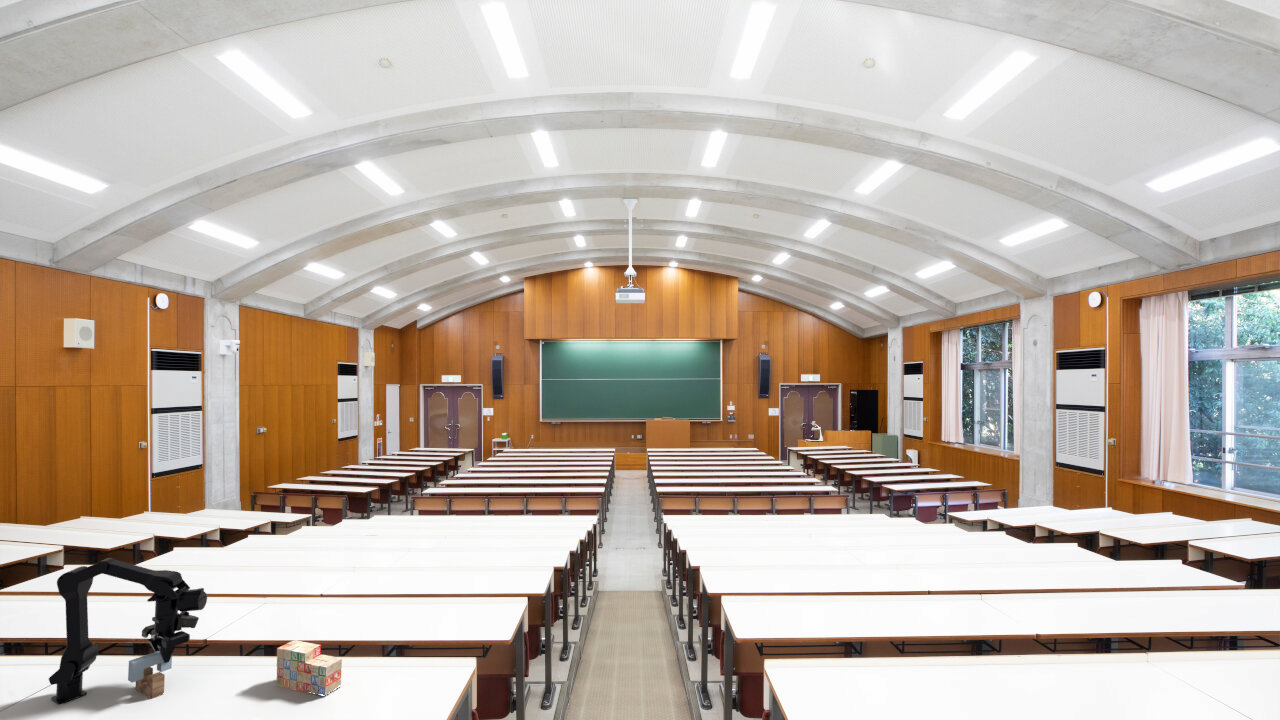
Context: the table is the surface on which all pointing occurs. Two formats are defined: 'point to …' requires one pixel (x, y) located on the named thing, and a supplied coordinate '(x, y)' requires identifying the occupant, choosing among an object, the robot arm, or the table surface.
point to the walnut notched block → (151, 683)
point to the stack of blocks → (307, 668)
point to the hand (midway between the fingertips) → (164, 661)
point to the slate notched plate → (146, 665)
